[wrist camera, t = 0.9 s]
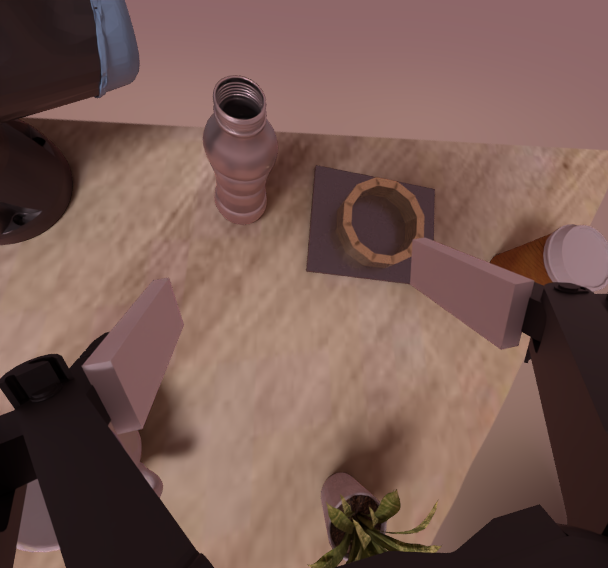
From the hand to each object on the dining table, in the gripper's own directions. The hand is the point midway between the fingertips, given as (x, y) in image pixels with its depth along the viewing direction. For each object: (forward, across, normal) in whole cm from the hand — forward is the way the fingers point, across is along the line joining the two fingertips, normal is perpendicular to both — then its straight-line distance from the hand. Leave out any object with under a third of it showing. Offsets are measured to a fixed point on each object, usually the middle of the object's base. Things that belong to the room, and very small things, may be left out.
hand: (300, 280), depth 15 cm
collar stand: (+27, +16, -5) cm, 31 cm away
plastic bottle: (+28, -4, +1) cm, 28 cm away
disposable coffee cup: (+24, +38, -15) cm, 47 cm away
